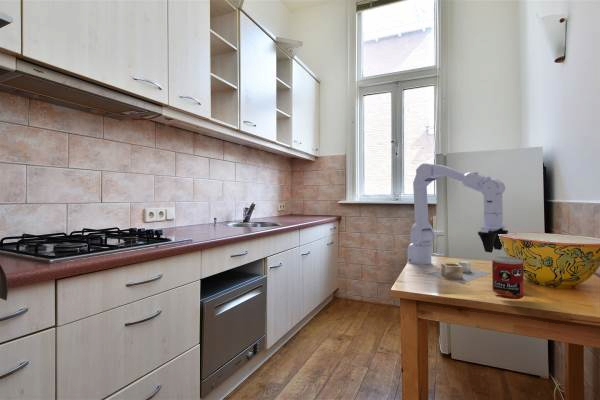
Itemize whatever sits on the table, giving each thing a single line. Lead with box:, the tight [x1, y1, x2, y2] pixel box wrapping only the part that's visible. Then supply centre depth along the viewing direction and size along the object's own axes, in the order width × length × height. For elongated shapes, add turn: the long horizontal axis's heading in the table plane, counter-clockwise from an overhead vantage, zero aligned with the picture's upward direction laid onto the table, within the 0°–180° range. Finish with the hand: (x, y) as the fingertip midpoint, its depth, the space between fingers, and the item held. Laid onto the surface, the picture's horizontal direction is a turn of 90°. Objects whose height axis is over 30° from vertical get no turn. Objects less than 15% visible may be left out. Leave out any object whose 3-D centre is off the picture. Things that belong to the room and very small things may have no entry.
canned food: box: [491, 256, 524, 300], centre depth 90 cm, size 8×8×11 cm
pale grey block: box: [458, 260, 472, 273], centre depth 113 cm, size 3×3×4 cm
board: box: [426, 268, 491, 283], centre depth 110 cm, size 14×20×1 cm
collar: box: [440, 262, 463, 278], centre depth 108 cm, size 6×6×4 cm
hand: (493, 250), depth 107 cm, fingers open, 7 cm apart
